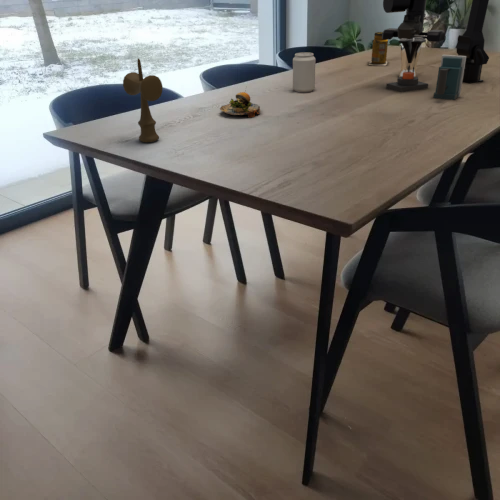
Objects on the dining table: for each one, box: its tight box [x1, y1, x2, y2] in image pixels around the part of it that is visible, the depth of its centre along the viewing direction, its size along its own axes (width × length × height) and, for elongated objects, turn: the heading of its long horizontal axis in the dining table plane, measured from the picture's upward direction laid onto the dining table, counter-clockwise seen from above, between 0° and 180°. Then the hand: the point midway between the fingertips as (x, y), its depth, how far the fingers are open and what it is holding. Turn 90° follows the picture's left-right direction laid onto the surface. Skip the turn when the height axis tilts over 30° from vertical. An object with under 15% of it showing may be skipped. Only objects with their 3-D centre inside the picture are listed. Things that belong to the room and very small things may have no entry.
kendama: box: [122, 58, 163, 143], centre depth 127 cm, size 6×10×20 cm, turn 43°
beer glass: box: [398, 38, 422, 77], centre depth 187 cm, size 7×7×15 cm
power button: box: [402, 72, 414, 79], centre depth 172 cm, size 4×4×2 cm
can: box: [292, 52, 316, 93], centre depth 174 cm, size 8×8×12 cm
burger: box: [219, 86, 261, 119], centre depth 151 cm, size 12×12×8 cm
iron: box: [432, 54, 466, 101], centre depth 156 cm, size 12×7×11 cm
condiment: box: [368, 31, 389, 66], centre depth 213 cm, size 7×8×12 cm
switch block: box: [385, 76, 429, 93], centre depth 173 cm, size 11×8×4 cm
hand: (409, 63), depth 170 cm, fingers closed
